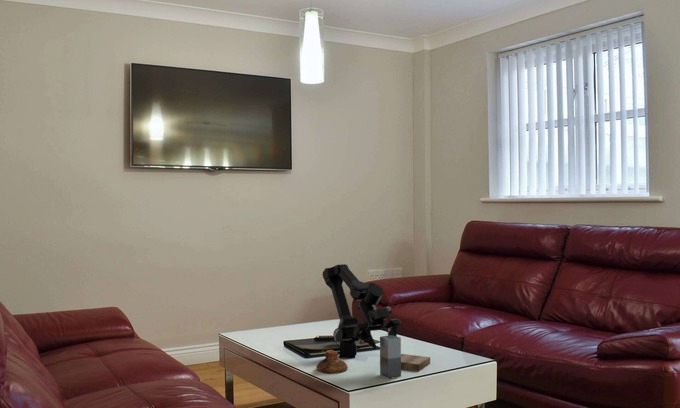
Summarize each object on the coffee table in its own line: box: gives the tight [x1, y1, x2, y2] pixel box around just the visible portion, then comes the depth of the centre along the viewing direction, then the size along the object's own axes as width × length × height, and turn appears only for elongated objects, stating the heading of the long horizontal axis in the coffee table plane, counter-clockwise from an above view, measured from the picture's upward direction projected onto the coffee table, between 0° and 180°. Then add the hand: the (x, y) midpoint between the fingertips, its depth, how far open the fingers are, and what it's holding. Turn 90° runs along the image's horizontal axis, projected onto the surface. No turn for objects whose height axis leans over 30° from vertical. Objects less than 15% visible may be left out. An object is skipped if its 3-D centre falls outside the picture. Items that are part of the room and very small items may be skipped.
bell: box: [315, 349, 349, 375], centre depth 238 cm, size 12×12×7 cm
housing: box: [379, 335, 402, 379], centre depth 229 cm, size 6×6×14 cm
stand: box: [401, 353, 431, 372], centre depth 242 cm, size 12×12×2 cm
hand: (386, 346), depth 231 cm, fingers open, 9 cm apart
